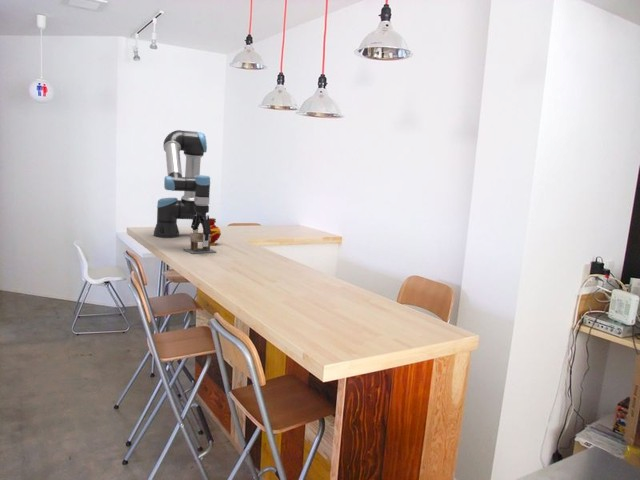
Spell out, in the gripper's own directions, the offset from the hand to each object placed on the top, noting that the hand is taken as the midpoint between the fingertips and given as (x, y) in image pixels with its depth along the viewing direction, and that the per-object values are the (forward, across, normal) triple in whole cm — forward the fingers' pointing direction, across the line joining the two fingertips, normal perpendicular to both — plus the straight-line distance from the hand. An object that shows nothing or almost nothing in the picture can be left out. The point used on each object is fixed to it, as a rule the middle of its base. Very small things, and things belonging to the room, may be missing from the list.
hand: (200, 244), depth 261 cm
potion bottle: (+4, -18, +15) cm, 24 cm away
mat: (+4, 0, 0) cm, 4 cm away
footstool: (+3, 0, 0) cm, 3 cm away
